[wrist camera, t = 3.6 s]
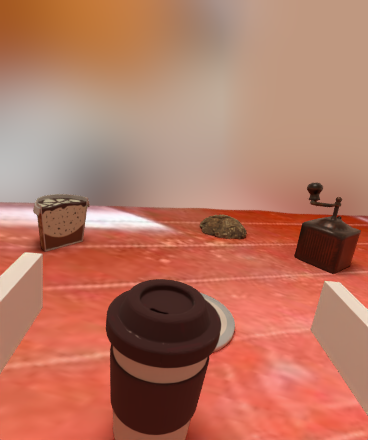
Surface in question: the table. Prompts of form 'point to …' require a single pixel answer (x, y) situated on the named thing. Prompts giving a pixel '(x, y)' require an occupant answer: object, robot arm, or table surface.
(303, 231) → the manual coffee grinder
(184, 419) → the coffee cup
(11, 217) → the table surface
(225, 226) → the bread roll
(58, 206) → the food container
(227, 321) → the saucer
